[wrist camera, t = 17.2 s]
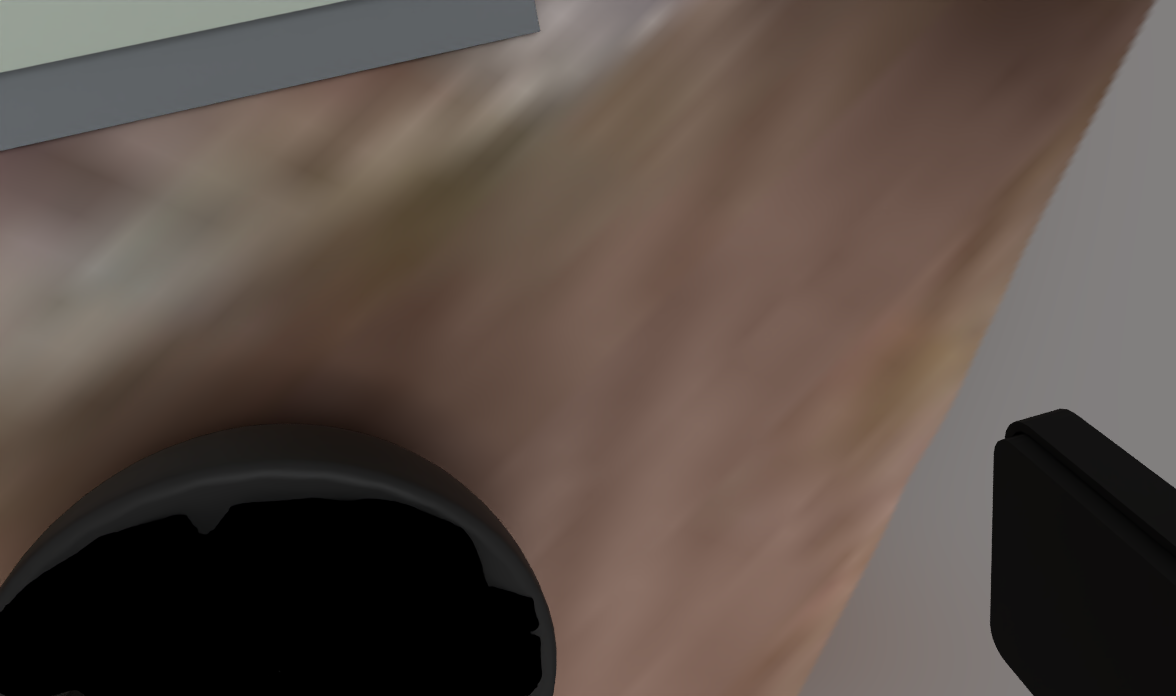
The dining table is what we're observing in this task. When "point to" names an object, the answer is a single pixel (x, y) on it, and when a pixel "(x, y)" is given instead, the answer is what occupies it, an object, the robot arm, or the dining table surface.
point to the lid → (116, 24)
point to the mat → (243, 61)
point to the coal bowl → (277, 579)
